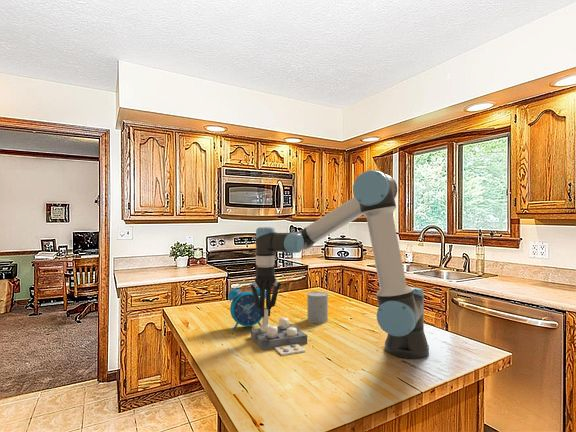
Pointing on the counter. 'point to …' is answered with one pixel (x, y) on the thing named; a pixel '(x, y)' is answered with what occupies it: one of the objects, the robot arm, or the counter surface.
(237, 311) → the alarm clock
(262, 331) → the button
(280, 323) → the button
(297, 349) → the card
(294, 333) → the button
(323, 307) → the speckled white tin can
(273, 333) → the button
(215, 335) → the counter surface
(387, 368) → the counter surface
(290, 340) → the button board
